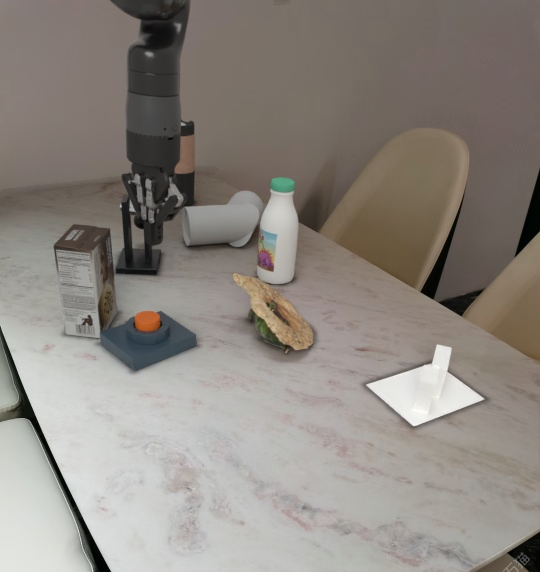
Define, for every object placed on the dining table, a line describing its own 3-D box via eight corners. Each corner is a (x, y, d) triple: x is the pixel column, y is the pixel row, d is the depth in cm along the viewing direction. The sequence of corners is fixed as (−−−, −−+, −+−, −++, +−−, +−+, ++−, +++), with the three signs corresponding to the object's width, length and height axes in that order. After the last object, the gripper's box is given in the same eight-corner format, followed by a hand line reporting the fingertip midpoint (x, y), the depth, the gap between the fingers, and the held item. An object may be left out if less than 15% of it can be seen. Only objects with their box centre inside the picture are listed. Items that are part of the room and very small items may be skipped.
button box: (134, 371, 92) (133, 349, 90) (100, 343, 98) (98, 322, 96) (196, 345, 99) (196, 325, 97) (161, 321, 105) (160, 301, 103)
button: (144, 335, 94) (143, 325, 93) (130, 324, 96) (129, 315, 96) (165, 327, 97) (165, 318, 96) (151, 317, 99) (150, 308, 98)
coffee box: (83, 308, 107) (73, 222, 98) (118, 312, 106) (111, 226, 97) (64, 335, 99) (51, 244, 90) (102, 339, 99) (92, 248, 90)
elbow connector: (255, 255, 128) (271, 222, 144) (247, 207, 122) (264, 179, 139) (178, 260, 132) (202, 228, 148) (166, 214, 127) (193, 186, 143)
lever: (134, 230, 128) (135, 214, 129) (151, 231, 129) (151, 214, 129) (125, 214, 115) (126, 195, 115) (144, 215, 116) (144, 196, 116)
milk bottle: (289, 268, 127) (298, 174, 116) (297, 284, 121) (307, 187, 109) (253, 268, 125) (259, 173, 114) (259, 285, 119) (266, 186, 108)
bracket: (123, 252, 127) (118, 189, 120) (160, 254, 128) (158, 191, 120) (116, 273, 119) (110, 206, 111) (156, 274, 120) (154, 208, 112)
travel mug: (170, 208, 151) (167, 126, 140) (161, 198, 157) (159, 118, 146) (198, 206, 154) (199, 125, 143) (189, 196, 160) (189, 117, 148)
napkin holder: (433, 361, 100) (441, 332, 97) (485, 398, 93) (496, 368, 89) (364, 385, 93) (370, 354, 90) (414, 427, 86) (423, 395, 82)
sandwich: (315, 366, 108) (339, 337, 104) (261, 379, 97) (285, 347, 93) (260, 297, 115) (280, 267, 110) (204, 302, 104) (224, 269, 100)
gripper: (102, 117, 84) (107, 234, 93) (162, 141, 77) (161, 264, 86) (145, 113, 88) (146, 225, 98) (205, 135, 82) (200, 252, 91)
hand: (153, 243), depth 92 cm, fingers closed
